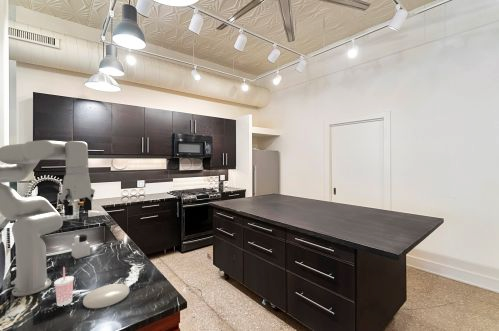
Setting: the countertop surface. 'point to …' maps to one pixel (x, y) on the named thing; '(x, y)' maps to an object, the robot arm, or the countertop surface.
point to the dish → (106, 296)
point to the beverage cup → (64, 289)
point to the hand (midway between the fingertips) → (78, 212)
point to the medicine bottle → (80, 246)
